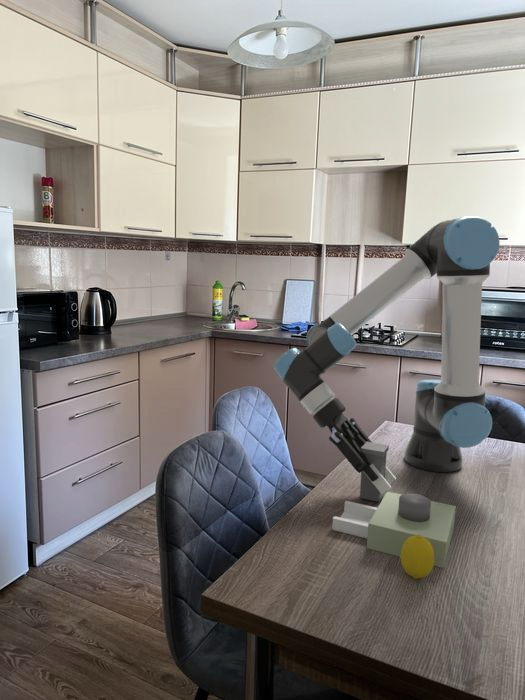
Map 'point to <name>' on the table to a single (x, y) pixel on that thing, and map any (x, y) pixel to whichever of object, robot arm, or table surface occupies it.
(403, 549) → the lemon
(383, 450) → the gray capped pillar
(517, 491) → the table surface
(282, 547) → the table surface
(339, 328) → the robot arm
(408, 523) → the green block with knob
